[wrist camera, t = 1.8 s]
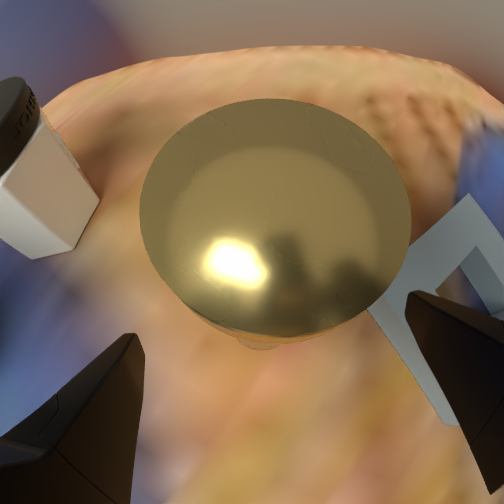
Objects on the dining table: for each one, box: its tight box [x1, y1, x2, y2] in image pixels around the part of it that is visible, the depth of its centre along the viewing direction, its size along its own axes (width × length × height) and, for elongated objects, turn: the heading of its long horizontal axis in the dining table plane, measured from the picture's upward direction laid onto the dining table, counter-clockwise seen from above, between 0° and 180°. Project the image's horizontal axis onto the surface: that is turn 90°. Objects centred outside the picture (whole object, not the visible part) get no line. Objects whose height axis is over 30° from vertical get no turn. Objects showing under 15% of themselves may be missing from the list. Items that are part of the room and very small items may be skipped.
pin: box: [139, 99, 412, 350], centre depth 12 cm, size 6×6×14 cm
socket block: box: [367, 193, 504, 426], centre depth 17 cm, size 12×12×3 cm
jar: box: [0, 77, 99, 260], centre depth 16 cm, size 9×8×12 cm
